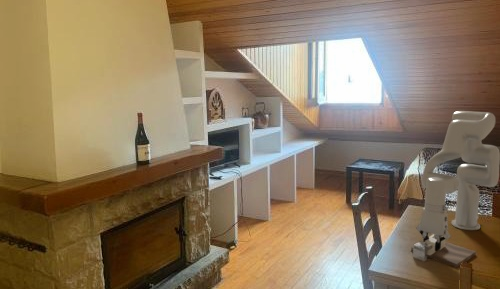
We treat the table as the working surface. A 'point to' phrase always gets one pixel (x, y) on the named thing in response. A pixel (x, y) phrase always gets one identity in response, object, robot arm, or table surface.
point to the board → (452, 254)
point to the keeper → (421, 250)
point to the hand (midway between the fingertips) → (431, 247)
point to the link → (432, 241)
